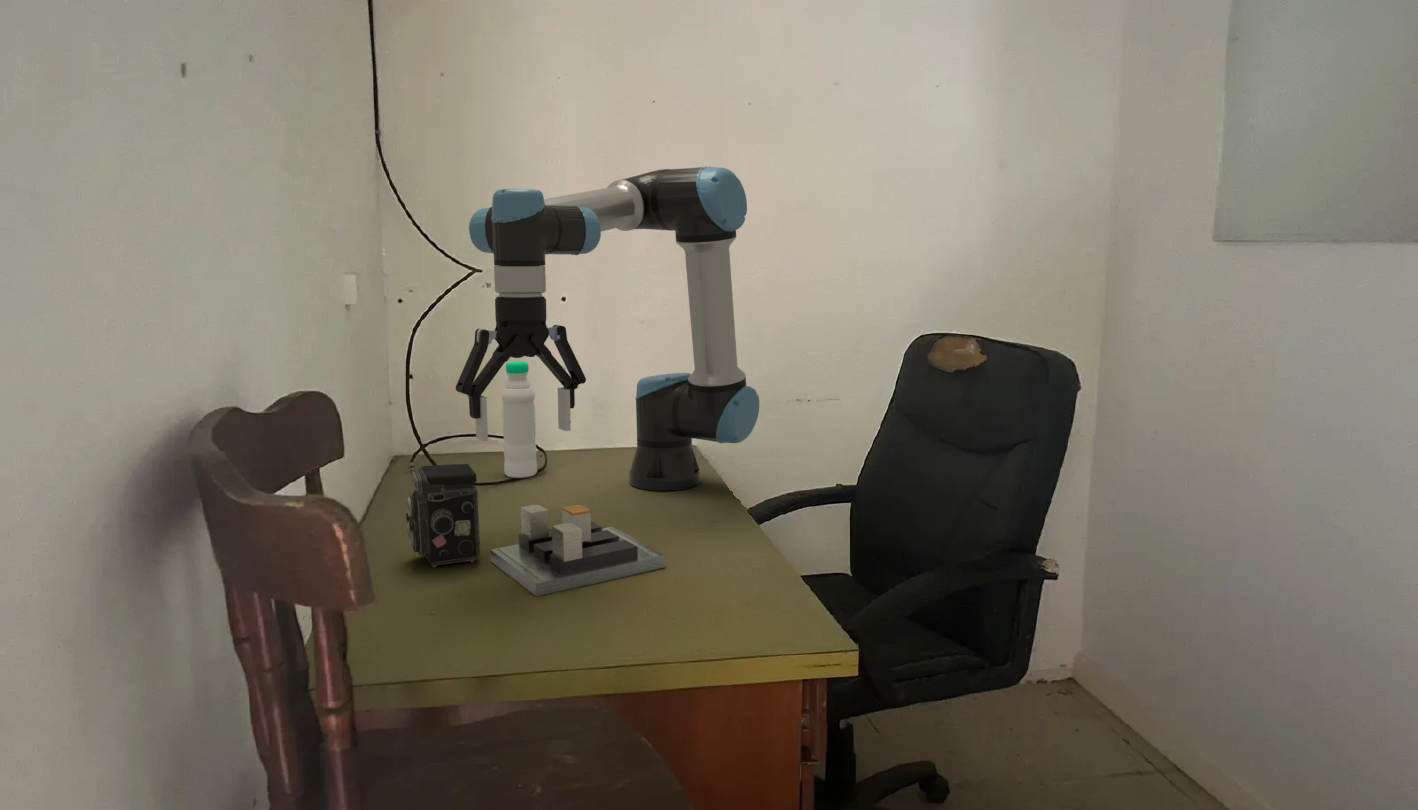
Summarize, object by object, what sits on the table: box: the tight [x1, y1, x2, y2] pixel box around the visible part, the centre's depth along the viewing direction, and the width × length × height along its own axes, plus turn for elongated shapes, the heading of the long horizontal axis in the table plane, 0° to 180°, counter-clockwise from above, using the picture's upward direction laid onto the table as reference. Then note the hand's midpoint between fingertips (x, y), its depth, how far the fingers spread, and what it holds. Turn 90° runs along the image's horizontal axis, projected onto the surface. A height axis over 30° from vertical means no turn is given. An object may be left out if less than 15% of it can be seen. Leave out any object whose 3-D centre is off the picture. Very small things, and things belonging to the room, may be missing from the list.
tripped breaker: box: [561, 503, 592, 542], centre depth 149 cm, size 3×4×5 cm
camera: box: [405, 463, 481, 568], centre depth 151 cm, size 10×10×15 cm
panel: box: [490, 504, 667, 597], centre depth 149 cm, size 22×18×8 cm
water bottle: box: [501, 360, 538, 479], centre depth 204 cm, size 7×7×25 cm
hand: (524, 434), depth 144 cm, fingers open, 13 cm apart
